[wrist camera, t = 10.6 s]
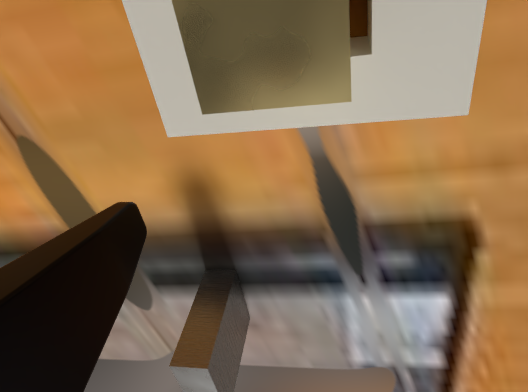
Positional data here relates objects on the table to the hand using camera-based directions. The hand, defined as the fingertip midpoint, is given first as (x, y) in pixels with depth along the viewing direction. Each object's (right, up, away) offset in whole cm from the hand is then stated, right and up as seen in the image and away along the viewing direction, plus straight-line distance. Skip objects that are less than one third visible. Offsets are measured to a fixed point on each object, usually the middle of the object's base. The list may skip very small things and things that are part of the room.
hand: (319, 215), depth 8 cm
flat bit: (-4, -8, +23) cm, 24 cm away
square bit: (0, +10, +8) cm, 13 cm away
